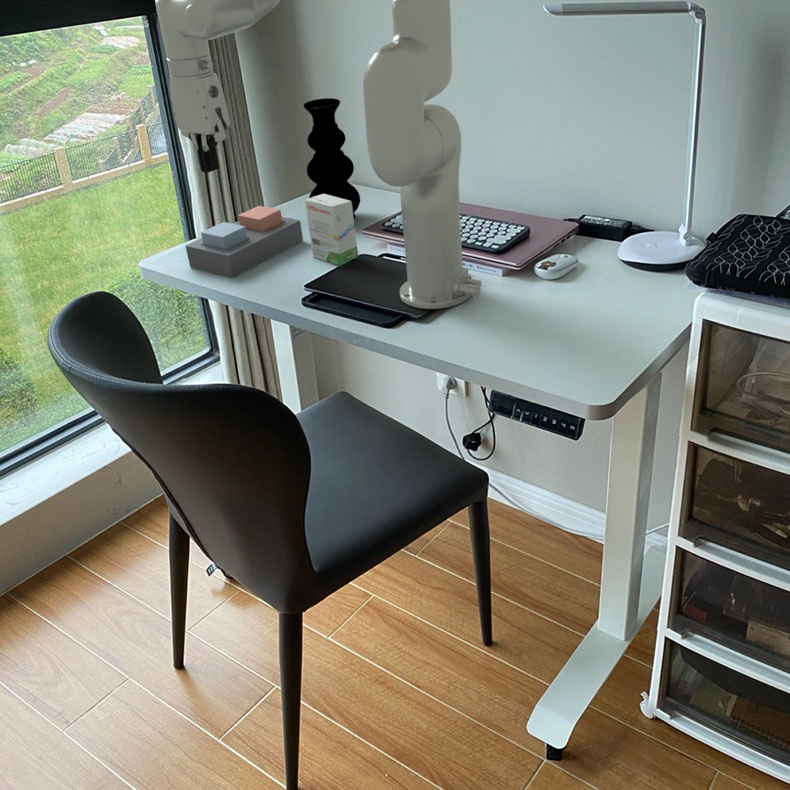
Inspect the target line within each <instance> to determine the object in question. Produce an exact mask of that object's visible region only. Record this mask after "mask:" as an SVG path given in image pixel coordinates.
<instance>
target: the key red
mask: <svg viewBox="0 0 790 790" xmlns="http://www.w3.org/2000/svg"><path fill="white" fill-rule="evenodd" d="M237 216H238V221H239V223H240V225H241V226H245V228H246V229H247V230H251V231H256V232H261V233H262V232H264V231H266V230H268V229H270V228H272V227H274V226H276V225H278V224H280V223H283V222H282V217H283V216H282V212H281V209H279V208H274V207H269V206H263V205H258V206H255V207H253V208H251V209H249V210H247V211H244V212H241V213H239V214H238V215H237Z"/></svg>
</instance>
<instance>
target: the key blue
mask: <svg viewBox="0 0 790 790" xmlns="http://www.w3.org/2000/svg"><path fill="white" fill-rule="evenodd" d="M200 235H201V238H202V239H203V244H204V246H207V247H211V248H216V249H220V250H224V251H225V250H227V249H230V248H232V247H234V246H236V245H238V244H240V243H242V242H244V241H246V240H248V239H247V233H246V228H245V226H241V225H236V224H233V223H230V222H226V221H223V222H221V223H218V224H216V225H214V226H211V227H209V228H208V229H205V230H203V231H201V232H200Z"/></svg>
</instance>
